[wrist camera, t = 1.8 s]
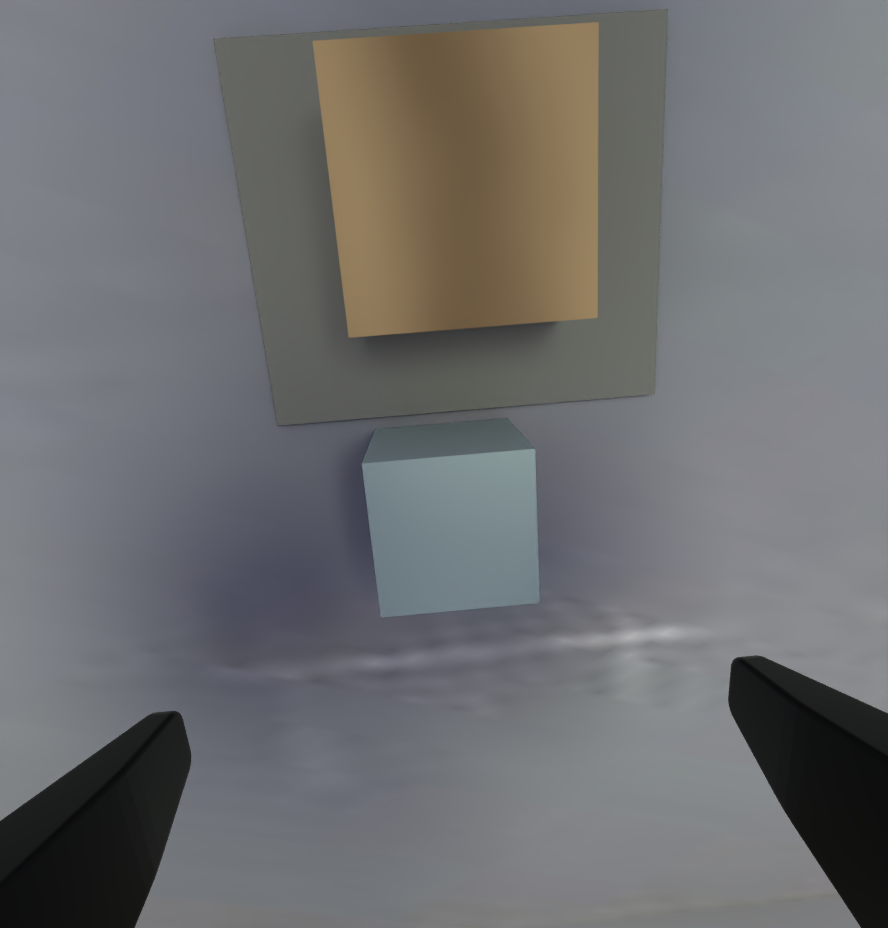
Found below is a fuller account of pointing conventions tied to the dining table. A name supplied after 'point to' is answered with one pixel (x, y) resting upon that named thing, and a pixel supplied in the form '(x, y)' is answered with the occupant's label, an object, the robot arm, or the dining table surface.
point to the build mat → (458, 350)
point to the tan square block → (463, 176)
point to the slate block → (452, 517)
